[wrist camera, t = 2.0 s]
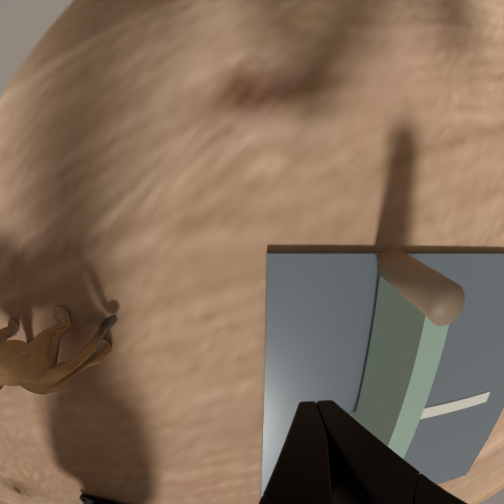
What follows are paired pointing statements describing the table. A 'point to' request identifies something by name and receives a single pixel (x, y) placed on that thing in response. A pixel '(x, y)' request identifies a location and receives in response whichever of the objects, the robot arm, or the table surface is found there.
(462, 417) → the card
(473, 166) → the table surface
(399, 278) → the fence panel
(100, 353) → the lion figurine
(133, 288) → the table surface
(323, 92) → the table surface
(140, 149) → the table surface
